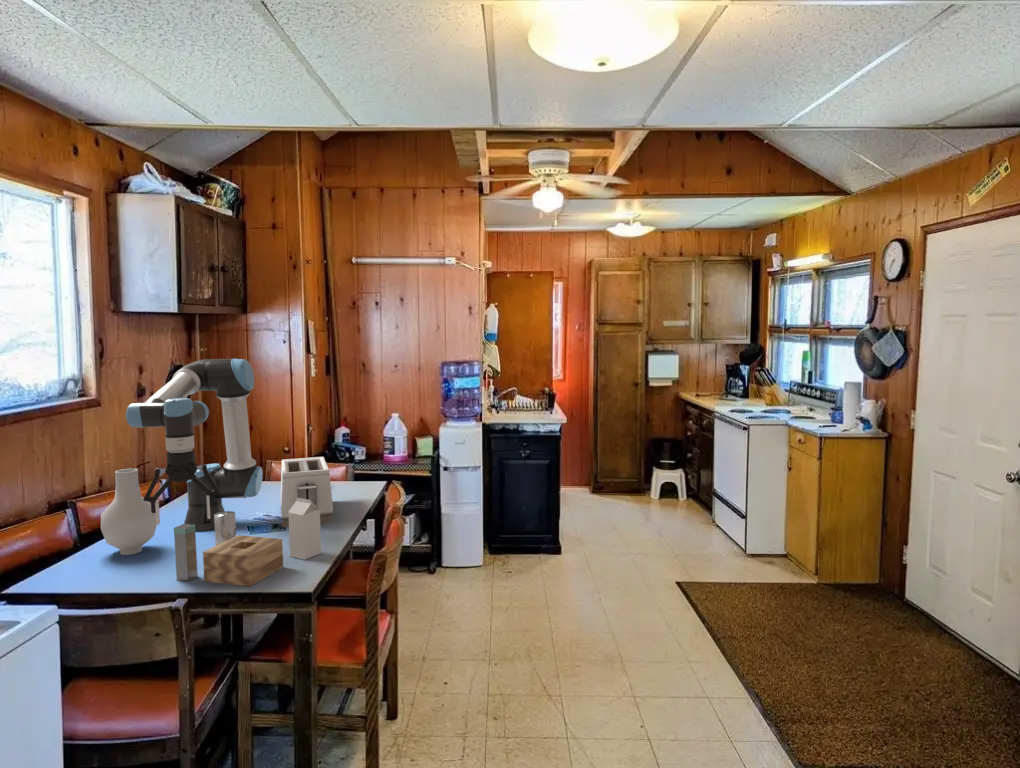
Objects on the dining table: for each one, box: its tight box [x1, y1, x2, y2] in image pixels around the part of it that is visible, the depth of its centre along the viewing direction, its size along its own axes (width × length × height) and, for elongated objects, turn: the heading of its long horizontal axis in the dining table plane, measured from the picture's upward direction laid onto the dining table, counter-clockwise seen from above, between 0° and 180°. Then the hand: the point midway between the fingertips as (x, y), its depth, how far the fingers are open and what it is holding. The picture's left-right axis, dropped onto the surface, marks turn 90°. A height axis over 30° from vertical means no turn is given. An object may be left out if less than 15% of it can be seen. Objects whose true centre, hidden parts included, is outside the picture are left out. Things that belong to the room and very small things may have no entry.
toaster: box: [280, 456, 335, 528], centre depth 259 cm, size 19×34×21 cm, turn 20°
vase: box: [100, 468, 157, 556], centre depth 216 cm, size 17×16×28 cm
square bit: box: [173, 523, 199, 582], centre depth 193 cm, size 4×4×16 cm
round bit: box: [214, 510, 237, 546], centre depth 213 cm, size 6×6×14 cm
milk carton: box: [288, 498, 322, 561], centre depth 212 cm, size 7×7×19 cm
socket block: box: [202, 534, 284, 587], centre depth 196 cm, size 16×16×9 cm
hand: (183, 520), depth 192 cm, fingers open, 13 cm apart
